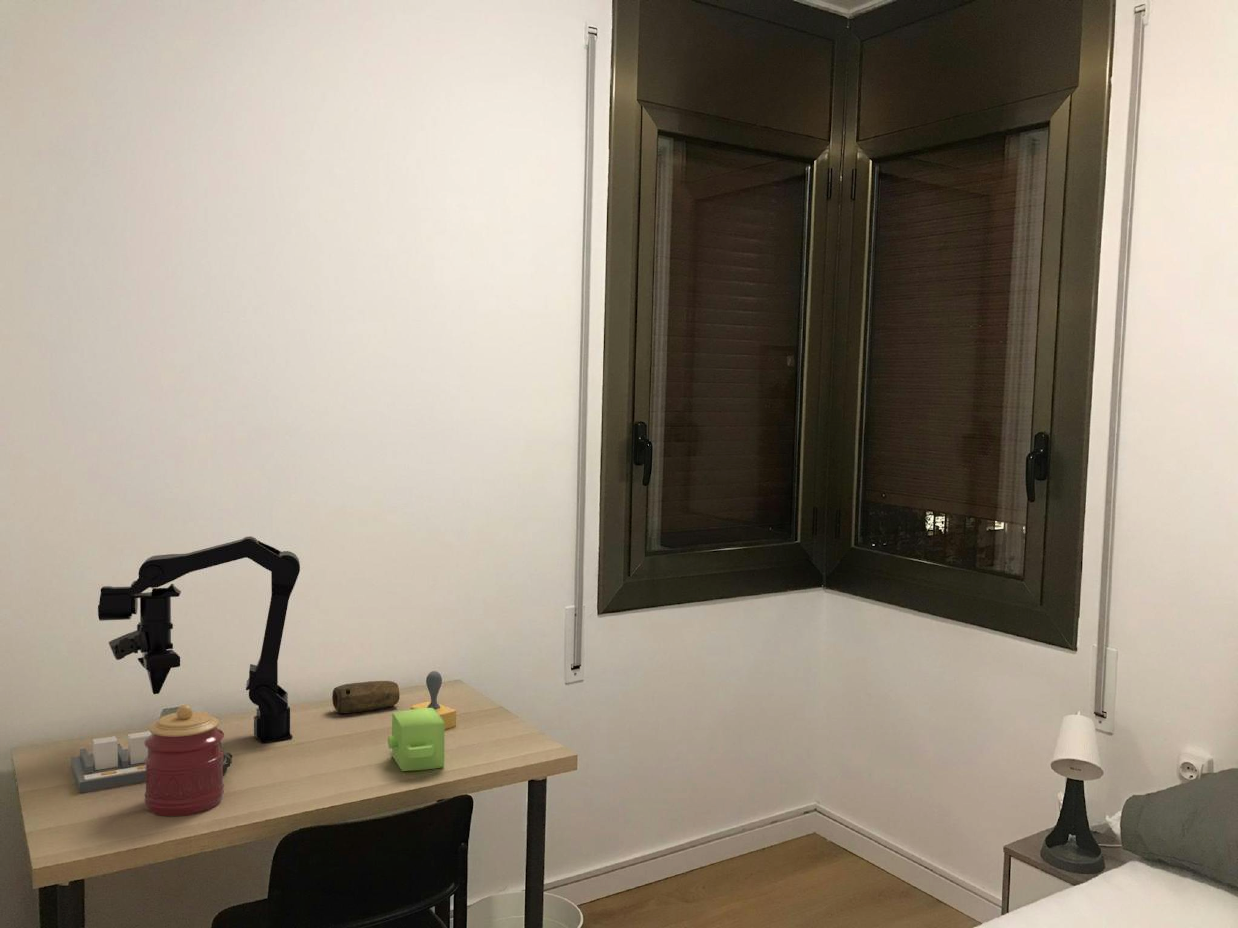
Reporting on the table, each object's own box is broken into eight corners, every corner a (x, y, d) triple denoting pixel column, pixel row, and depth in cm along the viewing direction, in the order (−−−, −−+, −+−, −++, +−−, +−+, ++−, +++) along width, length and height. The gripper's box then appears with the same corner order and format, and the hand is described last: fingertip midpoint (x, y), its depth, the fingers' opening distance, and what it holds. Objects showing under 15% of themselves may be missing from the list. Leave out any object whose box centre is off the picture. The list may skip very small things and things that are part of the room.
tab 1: (115, 761, 194) (115, 735, 194) (117, 766, 192) (117, 740, 191) (93, 765, 192) (93, 739, 192) (95, 770, 190) (95, 743, 189)
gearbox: (379, 749, 211) (379, 704, 210) (427, 744, 214) (427, 699, 214) (396, 779, 194) (397, 731, 194) (447, 773, 198) (448, 725, 197)
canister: (231, 808, 179) (231, 709, 178) (150, 823, 172) (150, 720, 171) (215, 784, 190) (215, 691, 189) (139, 797, 183) (138, 700, 182)
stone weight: (341, 719, 230) (341, 690, 229) (329, 711, 235) (329, 683, 235) (402, 708, 239) (402, 680, 239) (389, 701, 245) (390, 673, 244)
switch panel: (160, 753, 205) (160, 736, 205) (174, 776, 193) (174, 758, 193) (70, 767, 196) (70, 749, 196) (79, 793, 184) (79, 774, 184)
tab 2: (149, 756, 198) (149, 730, 197) (152, 760, 195) (152, 735, 195) (128, 759, 195) (128, 734, 195) (130, 764, 193) (130, 738, 193)
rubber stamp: (457, 726, 227) (457, 673, 226) (435, 731, 223) (436, 677, 222) (430, 716, 234) (431, 664, 233) (409, 721, 229) (410, 668, 229)
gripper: (105, 613, 211) (106, 687, 212) (118, 631, 196) (119, 711, 196) (163, 608, 217) (164, 680, 218) (180, 625, 202) (180, 703, 203)
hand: (155, 693), depth 209 cm, fingers closed
